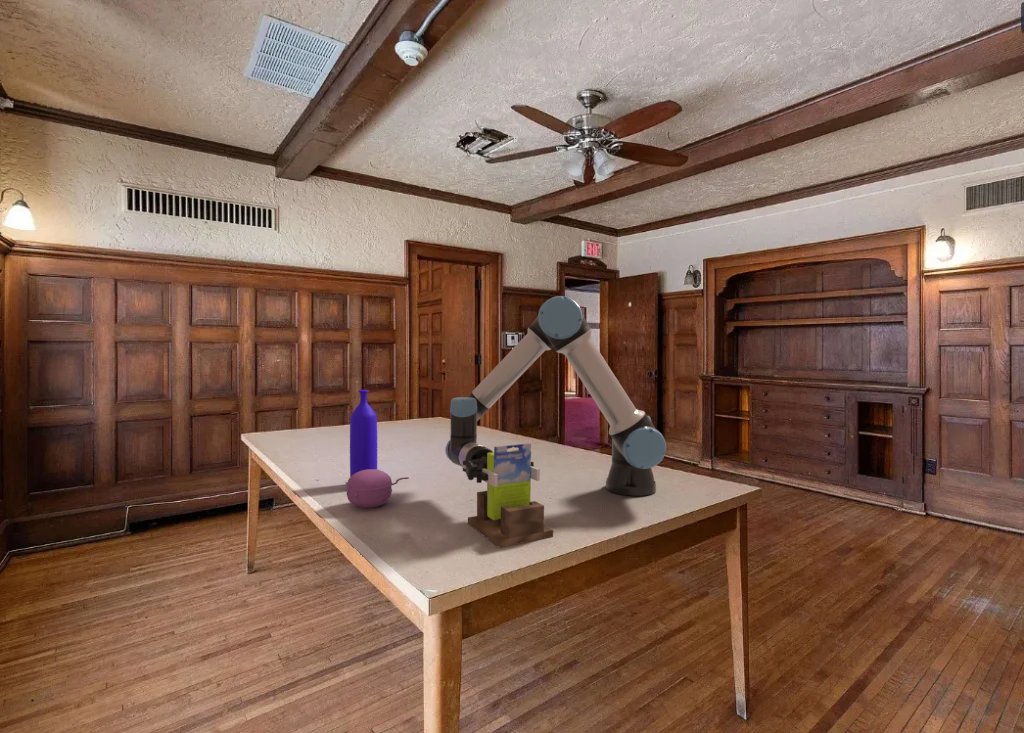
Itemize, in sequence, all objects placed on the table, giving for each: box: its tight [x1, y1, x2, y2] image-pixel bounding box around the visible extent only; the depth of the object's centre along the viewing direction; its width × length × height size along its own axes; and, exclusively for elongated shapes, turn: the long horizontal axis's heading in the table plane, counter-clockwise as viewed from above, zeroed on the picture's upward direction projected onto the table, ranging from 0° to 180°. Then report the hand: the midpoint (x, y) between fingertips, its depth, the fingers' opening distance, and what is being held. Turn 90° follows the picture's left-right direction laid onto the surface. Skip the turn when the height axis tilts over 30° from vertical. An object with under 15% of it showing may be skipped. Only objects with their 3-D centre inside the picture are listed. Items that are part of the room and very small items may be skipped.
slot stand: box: [467, 490, 554, 548], centre depth 121 cm, size 14×17×8 cm
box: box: [486, 442, 532, 520], centre depth 121 cm, size 10×4×17 cm, turn 120°
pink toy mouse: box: [345, 469, 410, 509], centre depth 140 cm, size 12×19×10 cm, turn 120°
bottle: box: [349, 389, 378, 478], centre depth 159 cm, size 8×8×30 cm
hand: (517, 477), depth 117 cm, fingers closed on box, 10 cm apart
